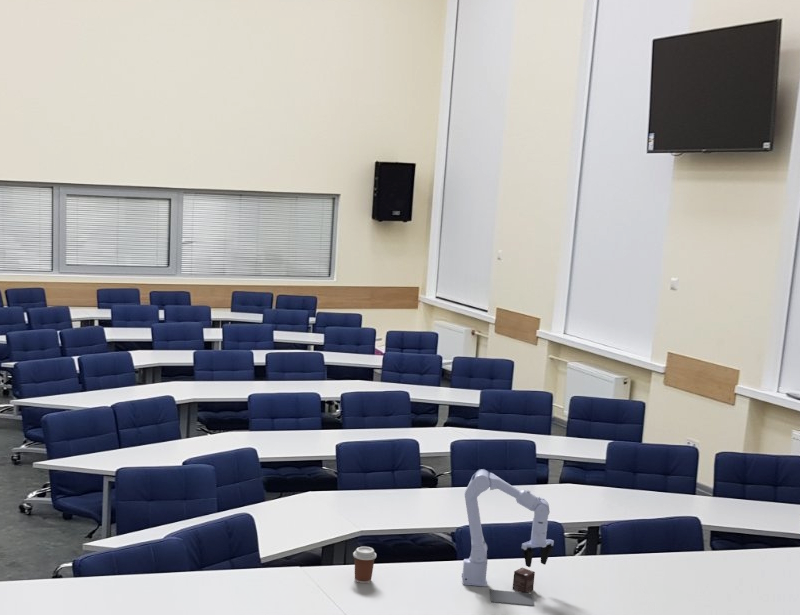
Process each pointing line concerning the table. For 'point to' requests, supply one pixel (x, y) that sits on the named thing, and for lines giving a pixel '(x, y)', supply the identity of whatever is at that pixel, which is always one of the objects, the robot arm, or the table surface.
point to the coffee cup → (364, 564)
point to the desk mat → (511, 597)
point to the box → (523, 580)
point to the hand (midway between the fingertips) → (535, 564)
